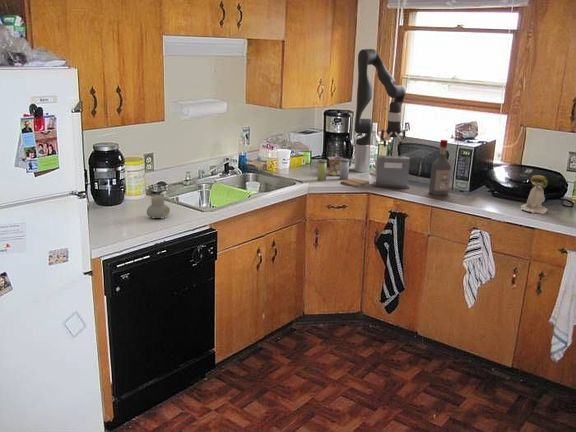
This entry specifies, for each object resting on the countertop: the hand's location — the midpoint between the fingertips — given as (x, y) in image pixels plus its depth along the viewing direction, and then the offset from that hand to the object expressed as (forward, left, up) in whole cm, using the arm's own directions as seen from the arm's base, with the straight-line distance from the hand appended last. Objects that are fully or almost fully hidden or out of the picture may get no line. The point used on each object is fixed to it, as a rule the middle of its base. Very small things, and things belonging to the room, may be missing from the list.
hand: (392, 147), depth 355 cm
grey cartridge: (+17, -22, -20) cm, 34 cm away
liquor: (+7, +35, -20) cm, 41 cm away
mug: (+13, -33, -20) cm, 41 cm away
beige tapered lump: (+3, +86, -20) cm, 89 cm away
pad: (+22, -11, -20) cm, 32 cm away
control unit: (+11, +7, -20) cm, 24 cm away
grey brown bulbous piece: (+141, -44, -20) cm, 149 cm away
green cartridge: (+29, -30, -20) cm, 46 cm away
